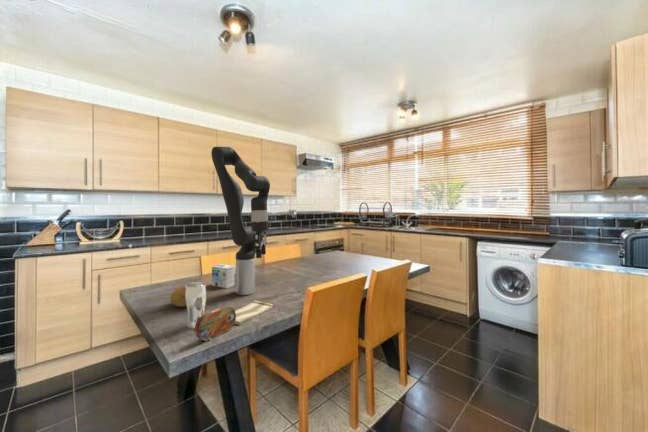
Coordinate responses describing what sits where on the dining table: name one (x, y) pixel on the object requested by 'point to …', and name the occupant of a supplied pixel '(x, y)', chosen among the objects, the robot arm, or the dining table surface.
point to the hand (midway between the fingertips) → (261, 256)
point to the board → (251, 311)
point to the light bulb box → (223, 275)
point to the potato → (179, 296)
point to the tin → (215, 323)
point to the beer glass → (195, 302)
